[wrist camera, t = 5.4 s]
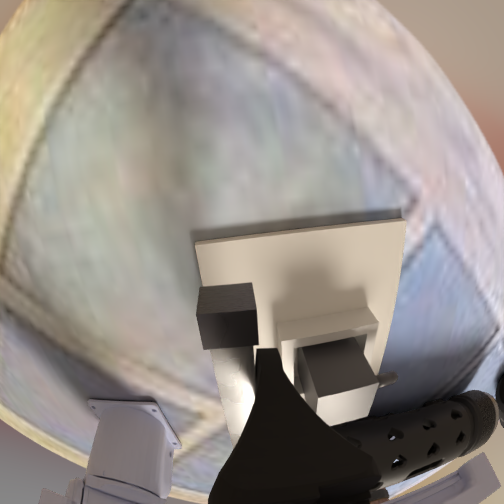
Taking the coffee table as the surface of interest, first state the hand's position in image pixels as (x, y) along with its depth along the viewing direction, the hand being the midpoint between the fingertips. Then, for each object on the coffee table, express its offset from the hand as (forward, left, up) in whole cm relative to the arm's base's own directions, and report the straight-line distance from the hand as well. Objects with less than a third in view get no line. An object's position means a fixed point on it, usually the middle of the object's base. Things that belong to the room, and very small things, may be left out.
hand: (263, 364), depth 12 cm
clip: (-2, +1, -7) cm, 7 cm away
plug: (-7, -6, -7) cm, 12 cm away
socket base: (-6, -4, -8) cm, 11 cm away
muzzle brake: (-23, -17, -8) cm, 30 cm away
